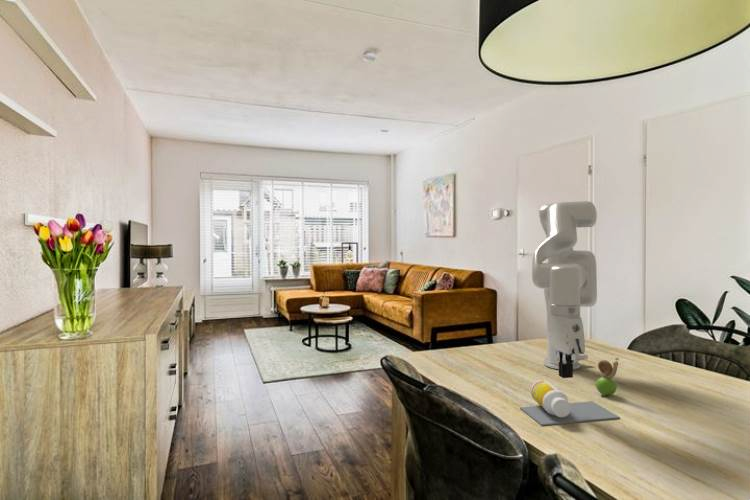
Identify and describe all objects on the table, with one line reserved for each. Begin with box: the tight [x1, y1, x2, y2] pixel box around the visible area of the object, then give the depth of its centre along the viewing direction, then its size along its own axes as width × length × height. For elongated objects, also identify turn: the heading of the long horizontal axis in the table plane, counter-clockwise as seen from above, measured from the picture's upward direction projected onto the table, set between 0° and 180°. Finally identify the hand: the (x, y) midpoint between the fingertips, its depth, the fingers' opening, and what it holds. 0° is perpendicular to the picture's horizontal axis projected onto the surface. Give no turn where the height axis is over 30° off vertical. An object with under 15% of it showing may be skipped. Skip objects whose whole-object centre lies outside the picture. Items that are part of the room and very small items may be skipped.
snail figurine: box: [595, 357, 619, 397], centre depth 125 cm, size 5×6×12 cm
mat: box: [519, 400, 621, 427], centre depth 113 cm, size 22×11×1 cm, turn 98°
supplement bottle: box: [530, 379, 571, 417], centre depth 114 cm, size 7×7×13 cm
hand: (565, 376), depth 116 cm, fingers closed
